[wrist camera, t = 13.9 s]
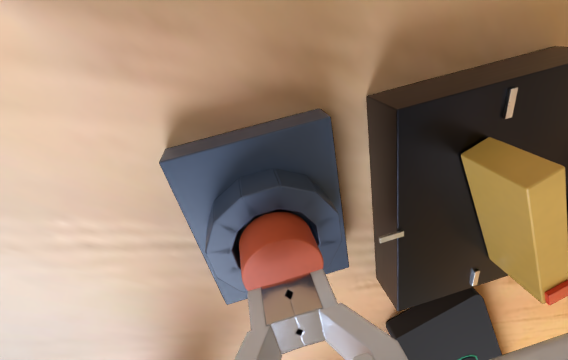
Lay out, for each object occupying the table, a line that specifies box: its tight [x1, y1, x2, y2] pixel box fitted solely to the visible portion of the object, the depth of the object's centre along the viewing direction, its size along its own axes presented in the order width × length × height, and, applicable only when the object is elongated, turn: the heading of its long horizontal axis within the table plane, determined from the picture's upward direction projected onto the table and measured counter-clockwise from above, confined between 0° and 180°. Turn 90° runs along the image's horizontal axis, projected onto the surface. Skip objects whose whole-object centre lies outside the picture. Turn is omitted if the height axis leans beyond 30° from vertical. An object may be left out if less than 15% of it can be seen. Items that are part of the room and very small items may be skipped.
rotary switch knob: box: [461, 137, 568, 305], centre depth 14 cm, size 9×2×4 cm, turn 31°
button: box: [239, 212, 324, 291], centre depth 13 cm, size 4×4×2 cm
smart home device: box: [386, 287, 502, 360], centre depth 28 cm, size 8×2×20 cm
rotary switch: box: [366, 46, 568, 311], centre depth 17 cm, size 14×13×3 cm
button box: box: [159, 109, 349, 305], centre depth 15 cm, size 10×8×4 cm
